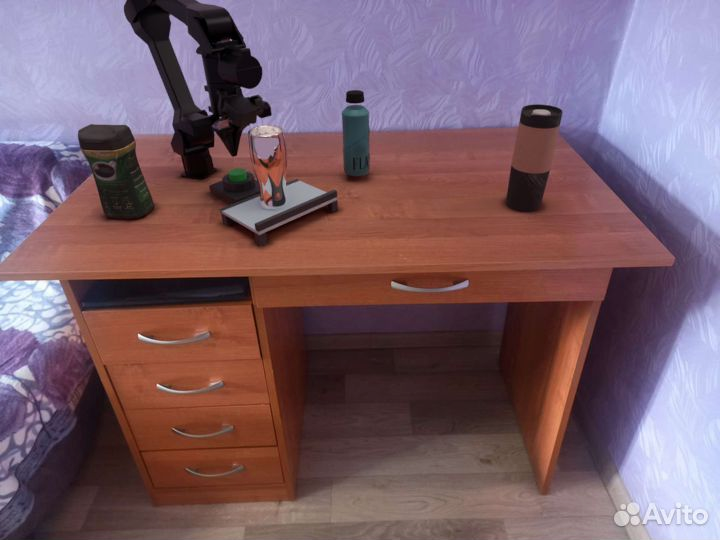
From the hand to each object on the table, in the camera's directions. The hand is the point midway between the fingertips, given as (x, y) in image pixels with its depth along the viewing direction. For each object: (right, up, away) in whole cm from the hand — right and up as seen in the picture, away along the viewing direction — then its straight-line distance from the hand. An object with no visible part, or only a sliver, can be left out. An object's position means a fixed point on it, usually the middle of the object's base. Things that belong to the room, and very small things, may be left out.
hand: (234, 155), depth 103 cm
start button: (0, -4, +3) cm, 5 cm away
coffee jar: (-22, -12, -1) cm, 25 cm away
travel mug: (+62, -11, -1) cm, 63 cm away
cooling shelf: (+11, -14, -4) cm, 18 cm away
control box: (0, -7, +5) cm, 9 cm away
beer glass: (+10, -11, -6) cm, 16 cm away
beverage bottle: (+27, -2, +12) cm, 29 cm away
